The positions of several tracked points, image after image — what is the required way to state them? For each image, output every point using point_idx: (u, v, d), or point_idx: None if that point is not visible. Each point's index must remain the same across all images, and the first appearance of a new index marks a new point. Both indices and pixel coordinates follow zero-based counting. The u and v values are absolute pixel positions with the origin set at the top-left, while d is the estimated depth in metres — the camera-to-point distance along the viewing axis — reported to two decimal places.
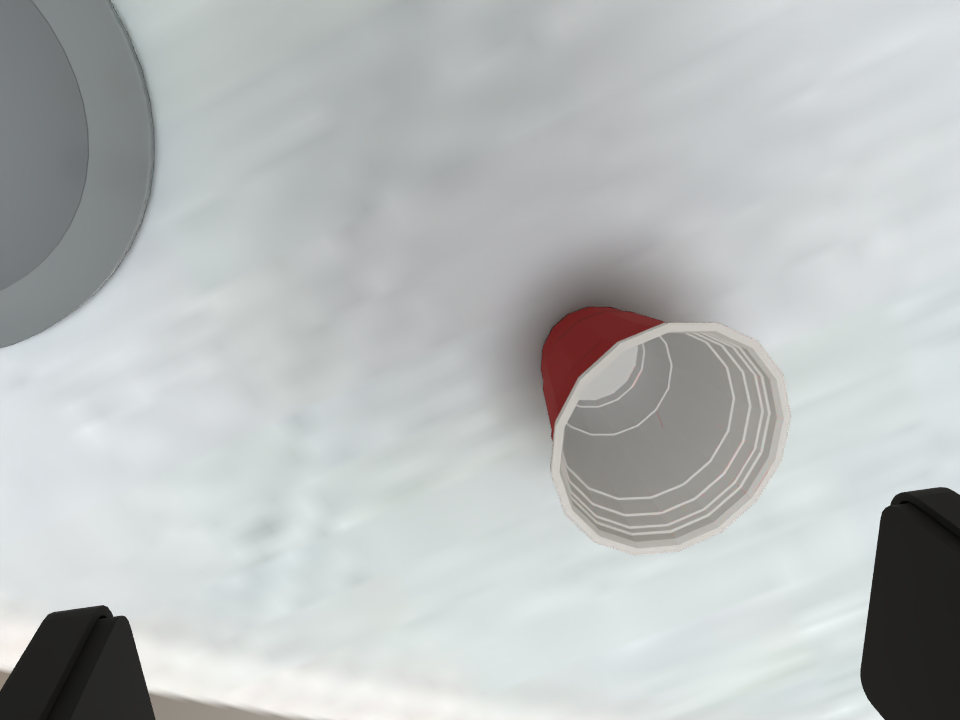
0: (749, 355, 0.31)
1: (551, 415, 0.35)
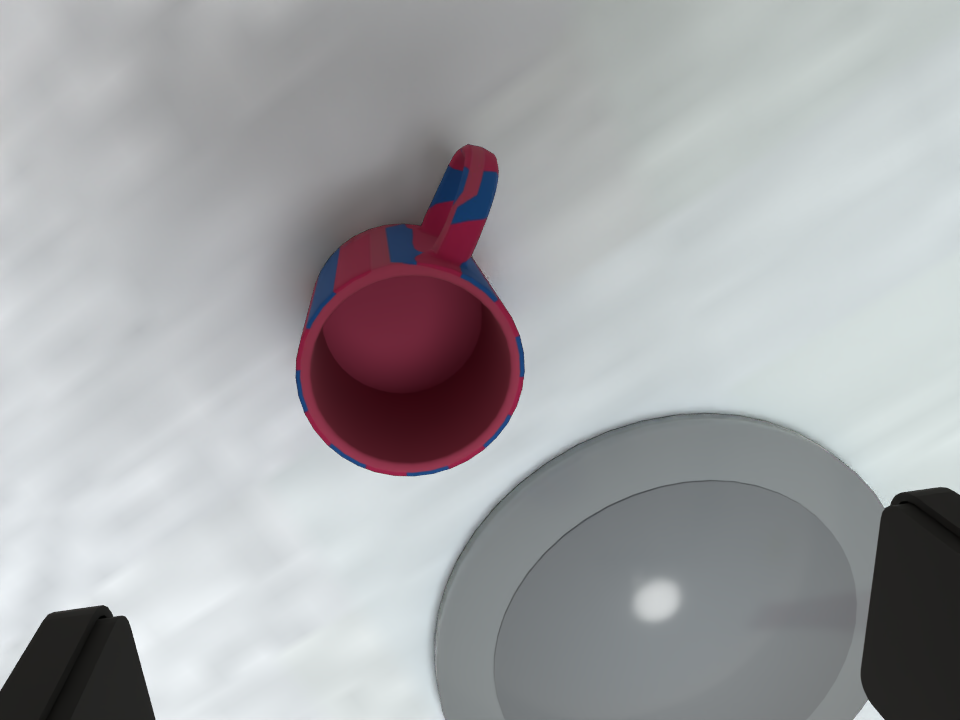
0: None
1: None
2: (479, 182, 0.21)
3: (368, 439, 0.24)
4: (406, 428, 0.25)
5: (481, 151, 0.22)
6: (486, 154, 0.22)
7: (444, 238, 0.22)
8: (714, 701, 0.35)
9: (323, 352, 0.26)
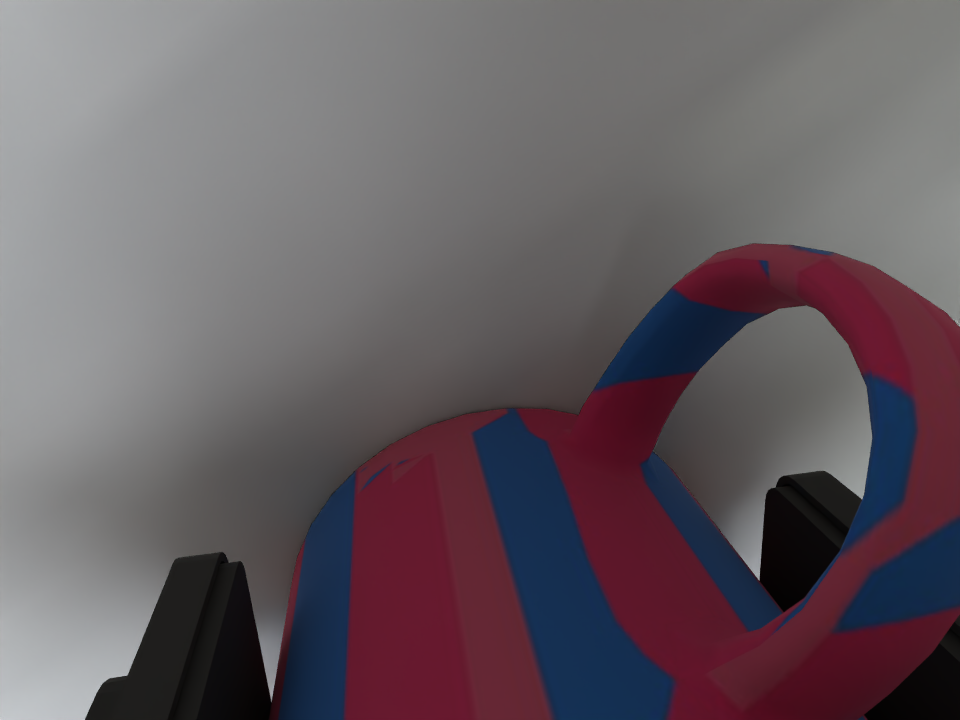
0: None
1: None
2: None
3: None
4: None
5: (899, 291, 0.06)
6: (924, 304, 0.06)
7: (789, 671, 0.05)
8: None
9: None
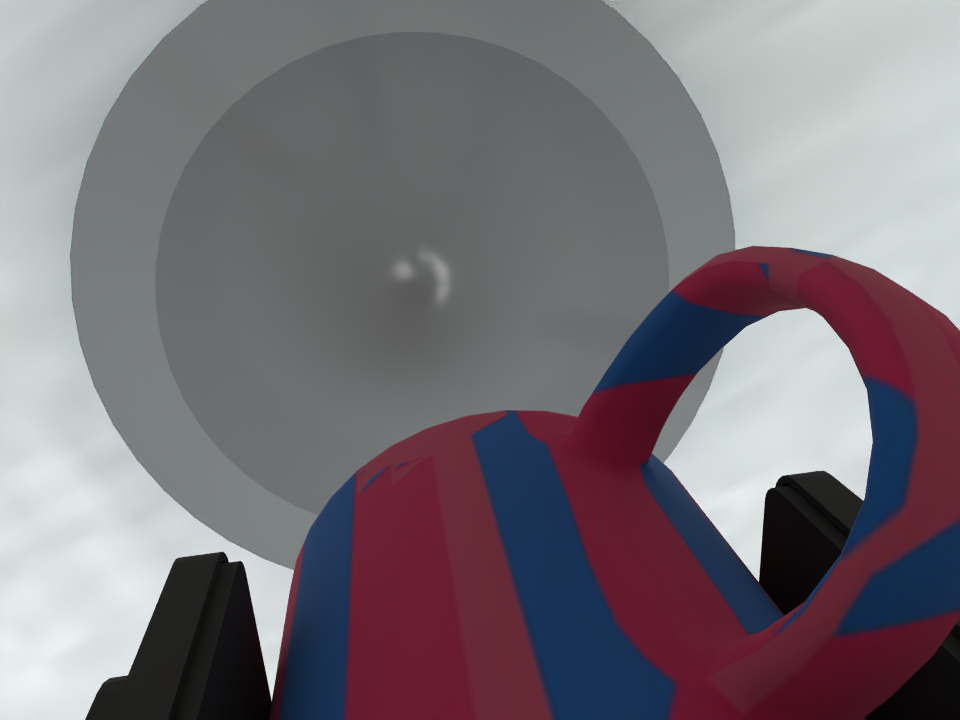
0: None
1: None
2: None
3: None
4: None
5: (899, 294, 0.06)
6: (923, 307, 0.06)
7: (789, 675, 0.05)
8: (483, 394, 0.26)
9: None
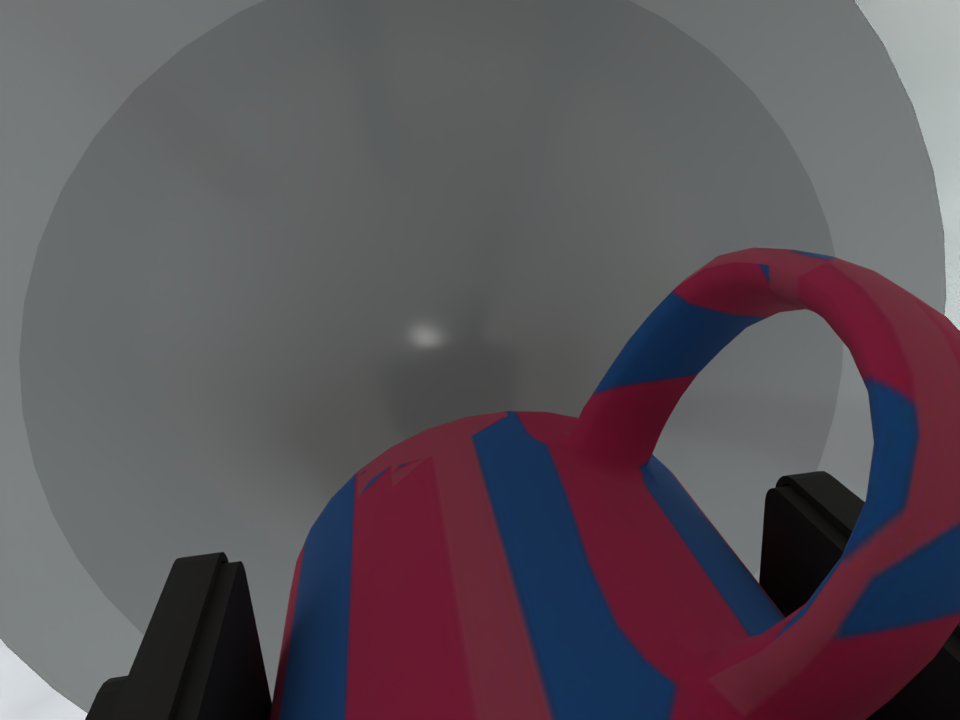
0: None
1: None
2: None
3: None
4: None
5: (900, 296, 0.06)
6: (924, 309, 0.06)
7: (790, 677, 0.05)
8: None
9: None
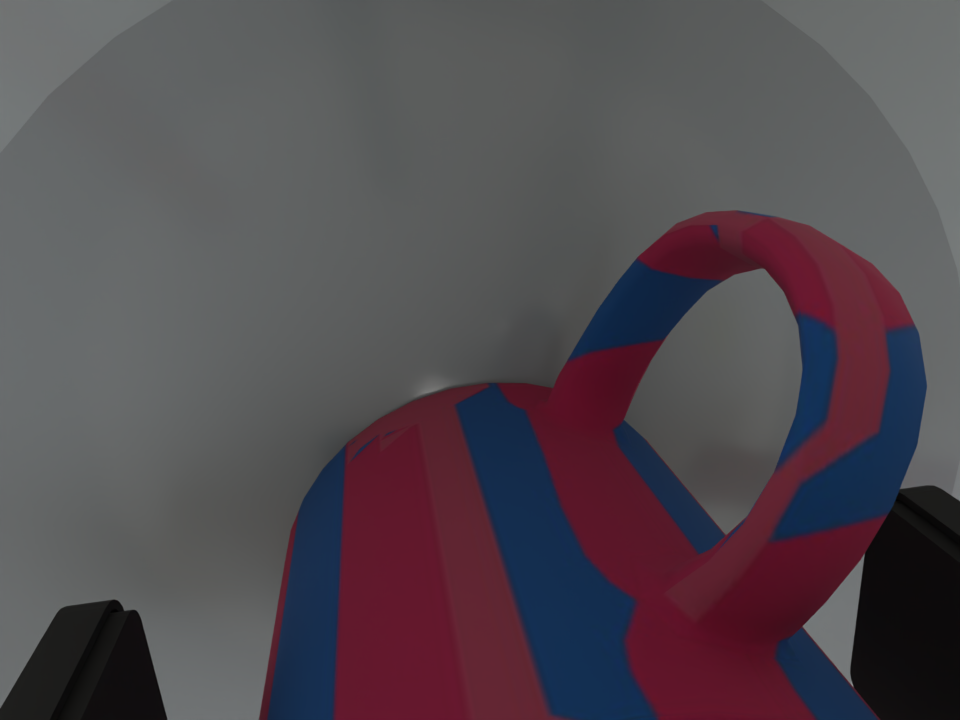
0: None
1: None
2: (878, 379, 0.05)
3: None
4: None
5: (829, 244, 0.06)
6: (850, 254, 0.06)
7: (733, 581, 0.06)
8: None
9: None
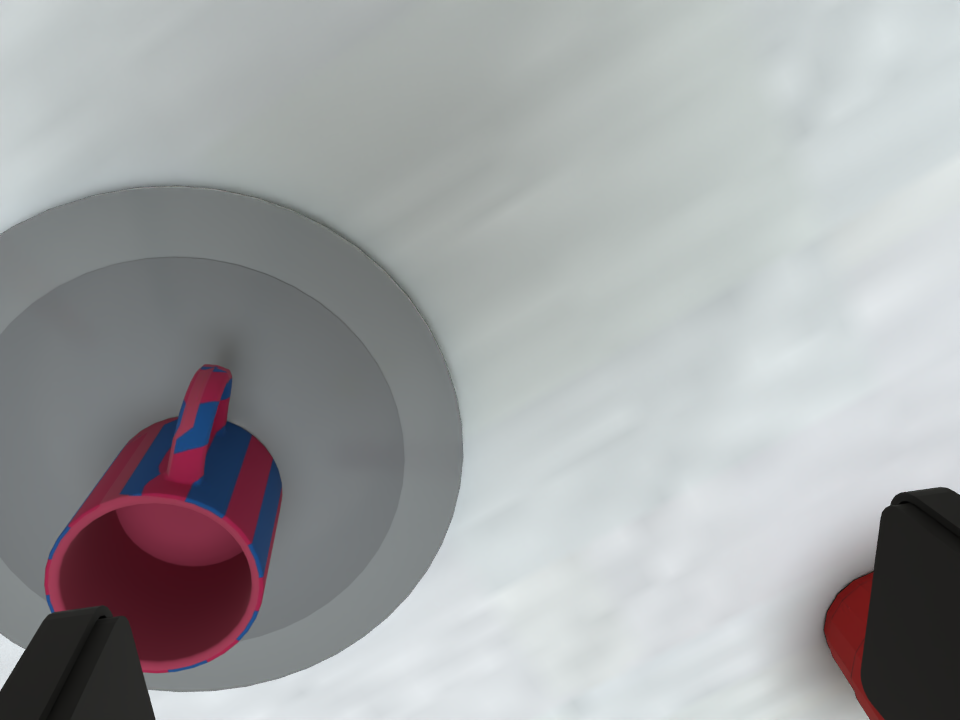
0: None
1: None
2: (195, 414, 0.24)
3: (139, 637, 0.26)
4: (187, 614, 0.28)
5: (205, 379, 0.24)
6: (209, 382, 0.24)
7: (171, 464, 0.24)
8: None
9: (111, 546, 0.28)
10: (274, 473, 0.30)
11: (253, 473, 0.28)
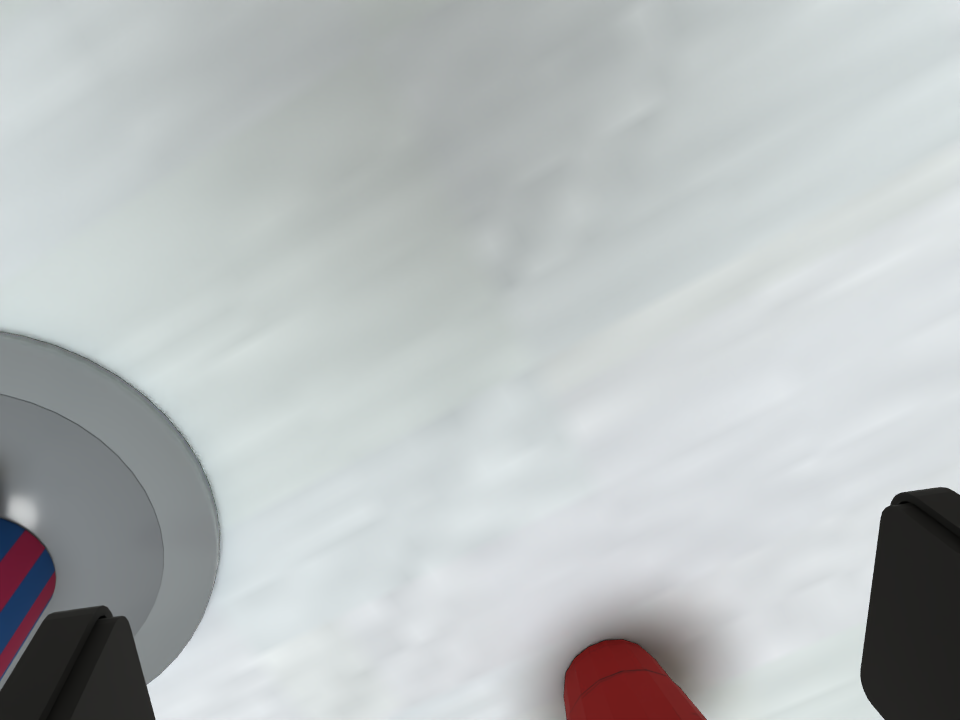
0: None
1: None
2: None
3: None
4: None
5: None
6: None
7: None
8: None
9: None
10: (42, 563, 0.36)
11: (9, 570, 0.34)
